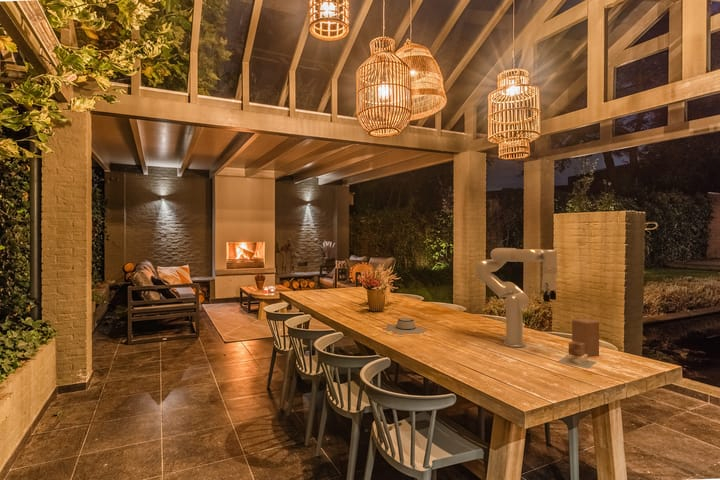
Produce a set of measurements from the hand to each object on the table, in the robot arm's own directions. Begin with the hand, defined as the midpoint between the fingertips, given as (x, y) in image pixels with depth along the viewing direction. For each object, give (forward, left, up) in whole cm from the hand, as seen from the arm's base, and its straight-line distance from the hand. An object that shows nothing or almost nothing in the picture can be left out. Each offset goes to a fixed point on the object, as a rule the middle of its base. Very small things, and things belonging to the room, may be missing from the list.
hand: (549, 300), depth 230 cm
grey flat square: (+18, -10, -30) cm, 37 cm away
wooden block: (+16, +9, -31) cm, 36 cm away
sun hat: (-95, -15, -31) cm, 101 cm away
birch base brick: (+18, -10, -30) cm, 36 cm away
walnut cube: (+17, -10, -26) cm, 33 cm away
